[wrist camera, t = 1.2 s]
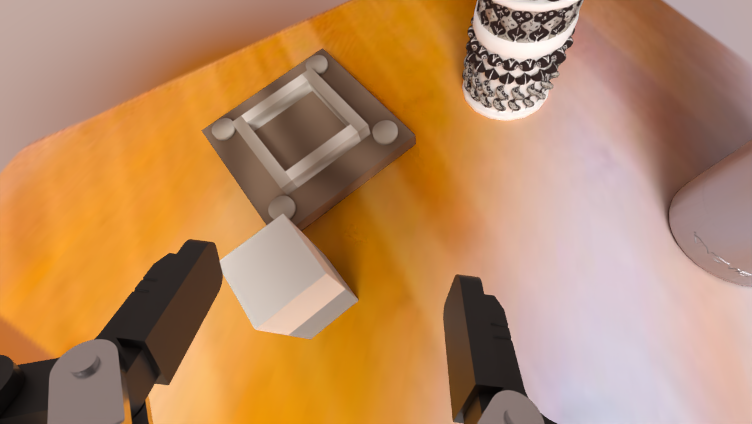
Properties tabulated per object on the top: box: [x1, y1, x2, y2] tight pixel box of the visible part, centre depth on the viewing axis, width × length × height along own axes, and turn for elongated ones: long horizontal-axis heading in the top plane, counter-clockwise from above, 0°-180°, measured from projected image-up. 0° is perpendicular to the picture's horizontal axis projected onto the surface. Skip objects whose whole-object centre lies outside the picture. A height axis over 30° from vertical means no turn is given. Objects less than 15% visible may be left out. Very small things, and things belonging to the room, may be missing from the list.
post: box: [220, 214, 358, 339], centre depth 26 cm, size 5×5×10 cm
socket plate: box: [202, 48, 416, 231], centre depth 35 cm, size 16×16×3 cm
